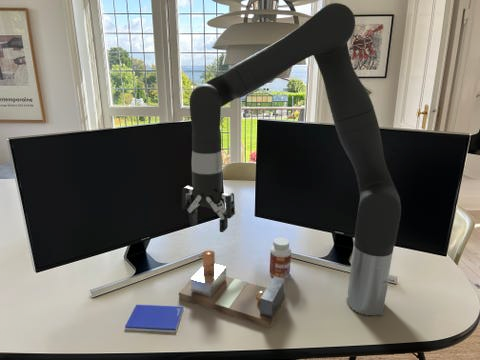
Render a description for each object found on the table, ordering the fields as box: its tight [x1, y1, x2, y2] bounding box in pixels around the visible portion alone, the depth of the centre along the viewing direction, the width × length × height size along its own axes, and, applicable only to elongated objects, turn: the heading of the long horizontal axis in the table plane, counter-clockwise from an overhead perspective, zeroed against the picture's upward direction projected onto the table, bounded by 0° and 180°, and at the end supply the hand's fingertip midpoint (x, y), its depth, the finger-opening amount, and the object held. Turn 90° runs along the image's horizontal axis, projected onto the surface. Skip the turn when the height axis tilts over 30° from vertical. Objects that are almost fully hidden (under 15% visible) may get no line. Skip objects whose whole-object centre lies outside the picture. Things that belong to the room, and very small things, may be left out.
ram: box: [190, 249, 227, 297], centre depth 93 cm, size 6×9×10 cm, turn 156°
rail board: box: [178, 276, 286, 329], centre depth 92 cm, size 26×12×2 cm, turn 66°
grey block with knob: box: [256, 276, 286, 319], centre depth 87 cm, size 6×10×5 cm, turn 156°
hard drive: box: [124, 304, 185, 333], centre depth 85 cm, size 2×8×12 cm
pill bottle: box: [268, 237, 292, 279], centre depth 102 cm, size 6×6×11 cm
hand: (208, 227), depth 89 cm, fingers open, 8 cm apart
